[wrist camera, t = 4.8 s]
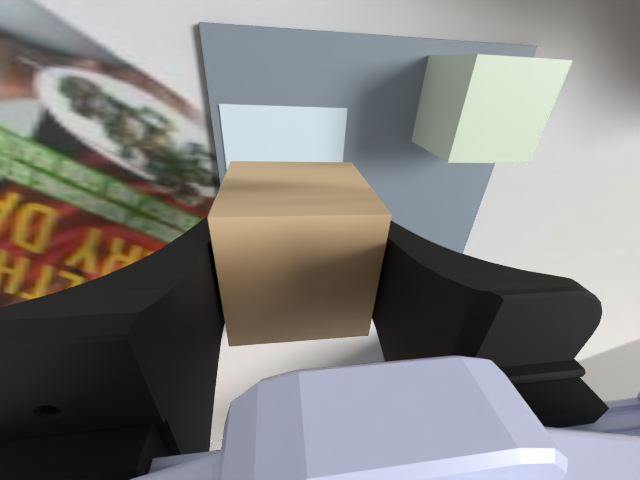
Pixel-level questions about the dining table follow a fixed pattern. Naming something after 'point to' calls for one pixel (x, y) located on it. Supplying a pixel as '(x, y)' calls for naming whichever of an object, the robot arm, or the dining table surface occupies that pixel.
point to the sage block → (486, 106)
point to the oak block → (297, 250)
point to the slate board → (343, 114)
